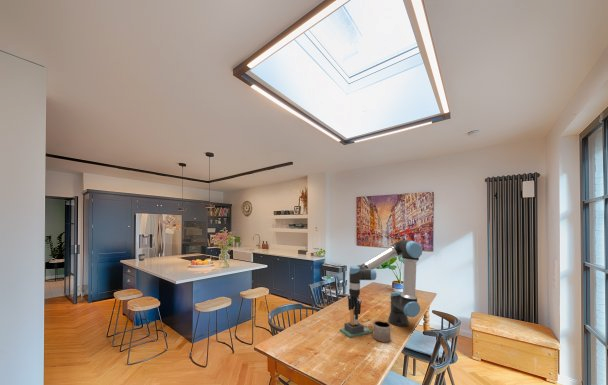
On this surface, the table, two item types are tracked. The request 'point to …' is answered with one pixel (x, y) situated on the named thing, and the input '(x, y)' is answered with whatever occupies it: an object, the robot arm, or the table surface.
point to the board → (355, 330)
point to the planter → (382, 331)
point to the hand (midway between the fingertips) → (354, 322)
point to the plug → (352, 317)
